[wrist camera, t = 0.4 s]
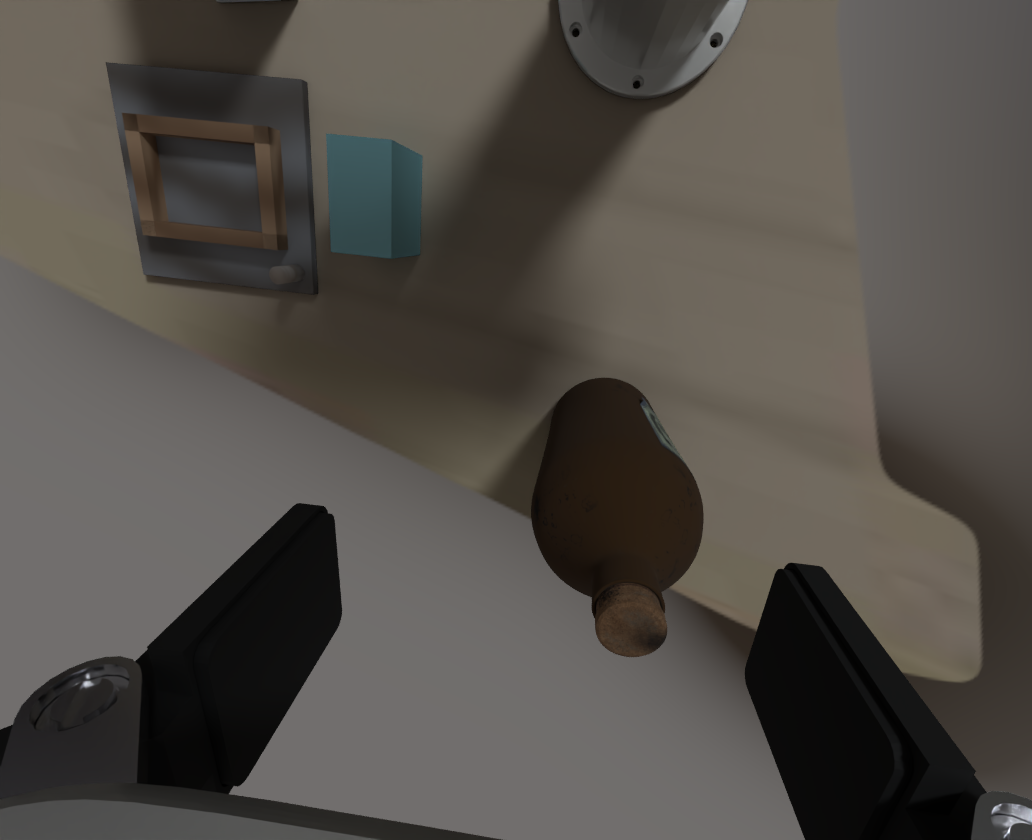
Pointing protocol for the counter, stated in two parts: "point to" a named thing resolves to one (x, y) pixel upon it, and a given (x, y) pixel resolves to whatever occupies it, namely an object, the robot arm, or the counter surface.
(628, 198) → the counter surface
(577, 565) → the olive oil
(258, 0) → the light bulb box
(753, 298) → the counter surface
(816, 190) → the counter surface
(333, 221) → the teal block
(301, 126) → the board
